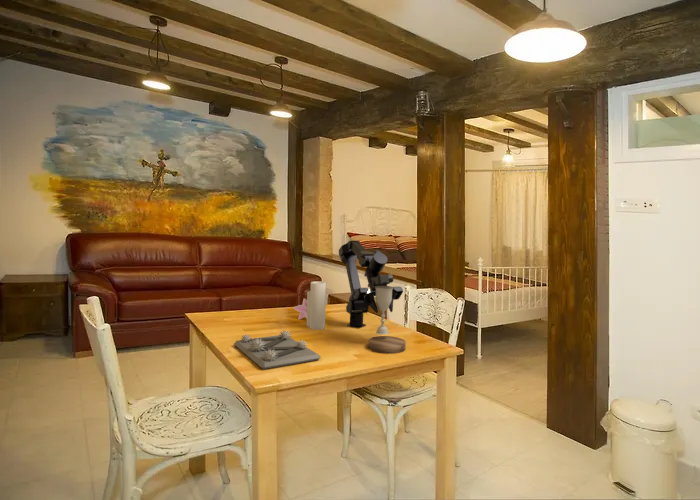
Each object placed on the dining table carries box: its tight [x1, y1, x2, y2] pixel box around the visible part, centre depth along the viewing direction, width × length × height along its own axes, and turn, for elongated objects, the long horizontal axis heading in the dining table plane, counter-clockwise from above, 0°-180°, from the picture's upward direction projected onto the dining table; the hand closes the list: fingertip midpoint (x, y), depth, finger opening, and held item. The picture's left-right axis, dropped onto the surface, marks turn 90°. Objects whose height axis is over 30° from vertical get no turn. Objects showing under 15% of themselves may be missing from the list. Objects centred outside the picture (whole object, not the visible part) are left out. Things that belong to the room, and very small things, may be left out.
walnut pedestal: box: [368, 335, 407, 354], centre depth 167 cm, size 14×14×2 cm
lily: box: [293, 298, 307, 321], centre depth 209 cm, size 12×12×10 cm
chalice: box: [375, 285, 395, 336], centre depth 170 cm, size 7×7×18 cm
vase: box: [306, 280, 327, 331], centre depth 194 cm, size 11×7×20 cm, turn 20°
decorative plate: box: [233, 330, 322, 370], centre depth 158 cm, size 30×22×7 cm
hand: (384, 311), depth 169 cm, fingers closed on chalice, 6 cm apart
